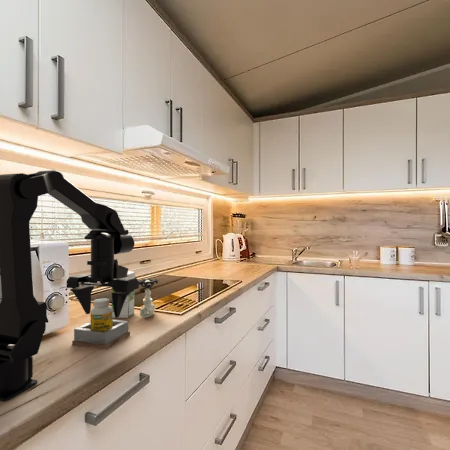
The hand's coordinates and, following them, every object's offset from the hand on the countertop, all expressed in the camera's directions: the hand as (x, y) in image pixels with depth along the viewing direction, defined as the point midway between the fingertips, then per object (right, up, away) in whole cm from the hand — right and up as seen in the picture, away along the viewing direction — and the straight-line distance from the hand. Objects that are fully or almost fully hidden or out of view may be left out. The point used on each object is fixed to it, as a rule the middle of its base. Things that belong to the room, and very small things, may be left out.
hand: (102, 315), depth 80 cm
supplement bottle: (0, -6, 0) cm, 6 cm away
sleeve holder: (0, -7, 0) cm, 7 cm away
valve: (+7, -7, +21) cm, 23 cm away
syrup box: (-2, -7, +21) cm, 22 cm away
